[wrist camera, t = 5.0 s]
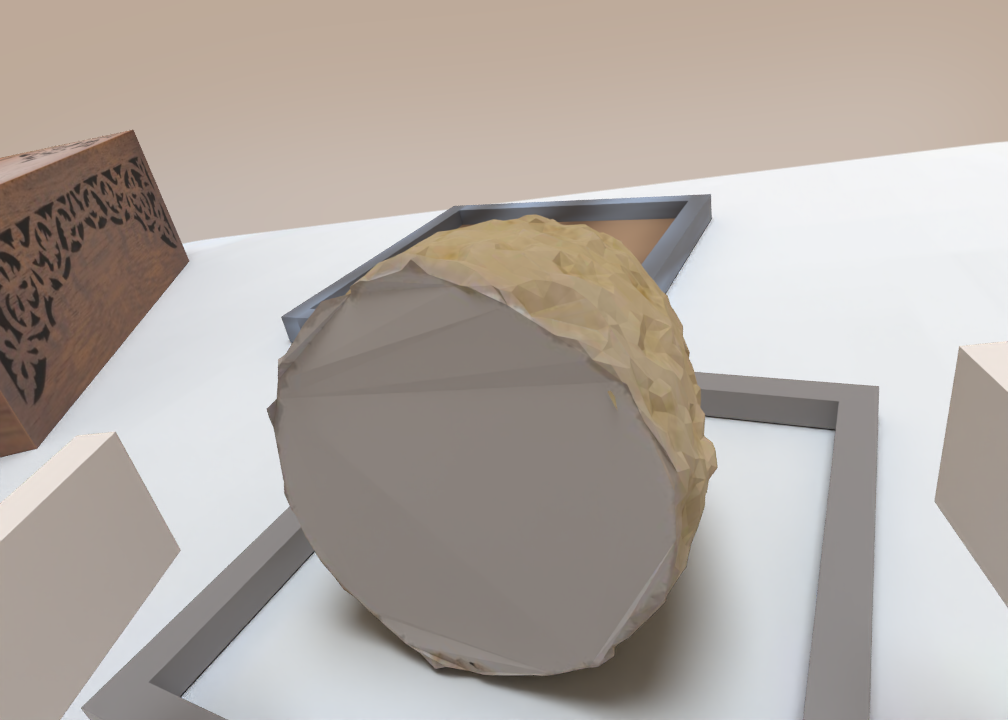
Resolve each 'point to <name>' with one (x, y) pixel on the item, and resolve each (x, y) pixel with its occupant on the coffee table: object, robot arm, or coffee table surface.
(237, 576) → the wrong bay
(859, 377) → the coffee table surface
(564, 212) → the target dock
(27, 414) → the tissue box cover
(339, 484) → the coral
